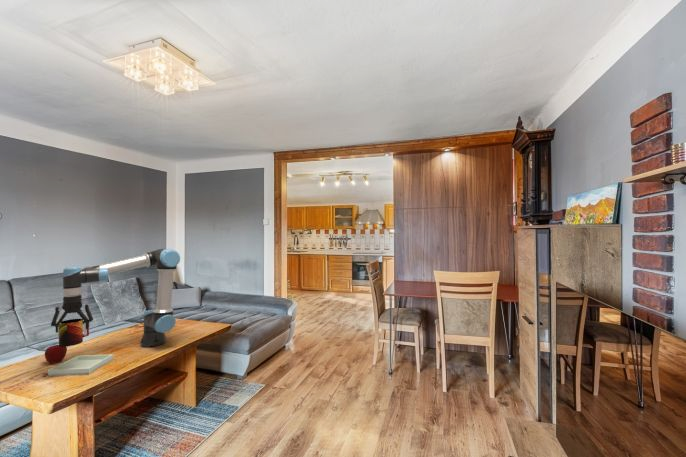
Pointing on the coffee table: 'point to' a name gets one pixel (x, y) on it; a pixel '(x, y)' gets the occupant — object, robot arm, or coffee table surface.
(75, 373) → the tray
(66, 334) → the mug
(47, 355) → the apple
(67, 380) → the coffee table surface
